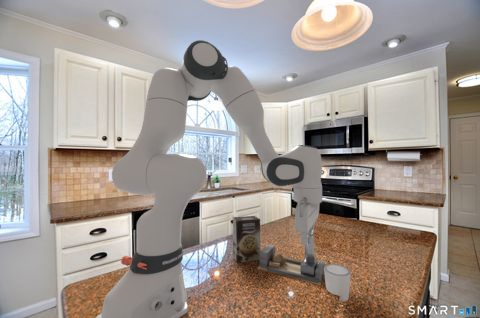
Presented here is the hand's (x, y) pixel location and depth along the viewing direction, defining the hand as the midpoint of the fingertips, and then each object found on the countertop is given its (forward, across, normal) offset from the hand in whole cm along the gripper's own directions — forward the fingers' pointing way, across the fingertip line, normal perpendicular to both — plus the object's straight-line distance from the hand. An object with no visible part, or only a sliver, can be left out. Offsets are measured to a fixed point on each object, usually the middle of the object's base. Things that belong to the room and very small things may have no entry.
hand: (308, 238), depth 71 cm
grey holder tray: (+12, -1, +5) cm, 13 cm away
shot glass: (+12, -7, -9) cm, 17 cm away
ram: (+10, -1, -1) cm, 10 cm away
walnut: (+11, -1, +10) cm, 14 cm away
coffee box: (+12, 0, +22) cm, 26 cm away
